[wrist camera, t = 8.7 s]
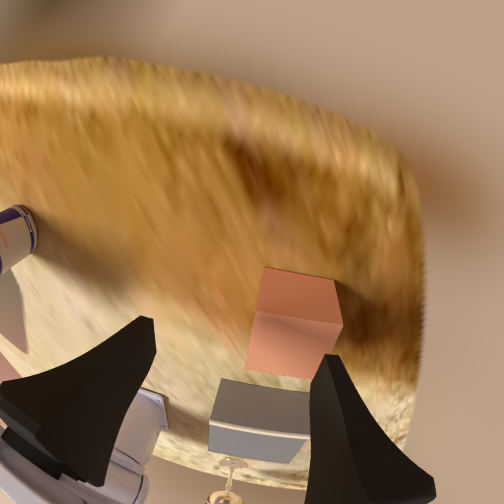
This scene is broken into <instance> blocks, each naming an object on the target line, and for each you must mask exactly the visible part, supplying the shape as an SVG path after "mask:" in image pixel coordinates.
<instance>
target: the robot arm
mask: <svg viewBox="0 0 504 504" xmlns="http://www.w3.org/2000/svg"><path fill="white" fill-rule="evenodd" d="M156 352H157V351H156V342H155V333H154V322H153V319H151V318H148V317H144V316H139V317H138V318H136V319H135V320H133V321H132V322H130V323H129V324H128V325H126V326H125V327H124V328H122V329H121V330H119V331H118V332H117V333H115V334H114V335H112V336H111V337H110V338H108V339H107V340H105V341H104V342H102V343H101V344H99V345H98V346H96V347H94V348H93V349H91V350H90V351H88V352H86V353H85V354H83V355H81V356H79V357H77V358H75V359H73V360H71V361H69V362H67V363H65V364H63V365H60V366H58V367H55V368H53V369H50V370H48V371H45V372H42V373H39V374H36V375H32V376H28V377H24V378H20V379H14V380H9V381H3V382H2V383H1V385H0V418H1V419H2V420H3V421H4V422H5V424H6V425H7V426H8V427H7V428H6V430H5V429H4V428H3V427H2V426H1V425H0V489H1V490H2V491H3V492H4V493H5V494H6V495H7V496H8V497H9V498H11V499H12V500H13V501H14V502H15V503H16V504H144V503H145V500H146V498H147V495H148V492H149V487H150V482H149V479H148V477H147V475H146V474H144V473H143V472H144V470H145V467H143V466H144V465H146V464H147V463H148V461H149V459H150V457H151V454H152V452H153V449H154V447H155V444H156V442H157V439H158V436H159V434H160V431H161V430H164V431H168V429H169V427H168V422H167V417H166V411H165V405H164V399H163V397H162V396H161V395H159V394H156V393H153V392H150V391H147V390H144V389H141V388H140V387H141V385H142V383H143V381H144V380H145V378H146V376H147V374H148V372H149V370H150V367H151V365H152V363H153V360H154V357H155V355H156ZM309 413H310V436H311V459H310V469H309V478H308V485H307V492H306V498H305V503H304V504H427V503H429V502H431V501H433V500H434V499H435V498H436V489H435V483H434V479H433V477H432V476H430V475H429V474H427V473H426V472H425V471H424V470H422V469H421V468H420V467H418V466H417V465H416V464H415V463H414V462H412V461H411V460H410V459H409V458H408V457H407V456H406V455H405V454H404V453H403V452H402V451H401V450H400V449H399V448H398V447H397V446H396V445H395V444H394V443H393V442H392V441H391V440H390V438H389V437H388V436H387V435H386V434H385V433H384V431H383V430H382V429H381V427H380V426H379V425H378V423H377V422H376V421H375V419H374V418H373V416H372V415H371V413H370V412H369V410H368V408H367V407H366V405H365V404H364V402H363V400H362V398H361V397H360V395H359V393H358V391H357V390H356V388H355V386H354V384H353V382H352V380H351V378H350V376H349V374H348V372H347V371H346V368H345V366H344V364H343V362H342V360H341V358H340V357H339V355H331V354H324V357H323V359H322V361H321V363H320V365H319V367H318V370H317V372H316V374H315V376H314V378H313V380H312V382H311V387H310V400H309Z"/></svg>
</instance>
